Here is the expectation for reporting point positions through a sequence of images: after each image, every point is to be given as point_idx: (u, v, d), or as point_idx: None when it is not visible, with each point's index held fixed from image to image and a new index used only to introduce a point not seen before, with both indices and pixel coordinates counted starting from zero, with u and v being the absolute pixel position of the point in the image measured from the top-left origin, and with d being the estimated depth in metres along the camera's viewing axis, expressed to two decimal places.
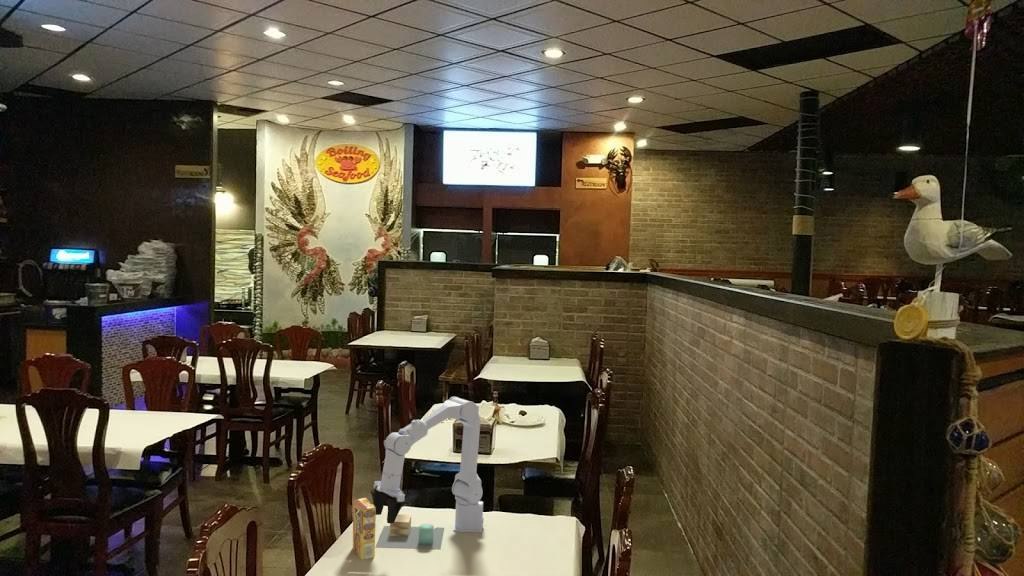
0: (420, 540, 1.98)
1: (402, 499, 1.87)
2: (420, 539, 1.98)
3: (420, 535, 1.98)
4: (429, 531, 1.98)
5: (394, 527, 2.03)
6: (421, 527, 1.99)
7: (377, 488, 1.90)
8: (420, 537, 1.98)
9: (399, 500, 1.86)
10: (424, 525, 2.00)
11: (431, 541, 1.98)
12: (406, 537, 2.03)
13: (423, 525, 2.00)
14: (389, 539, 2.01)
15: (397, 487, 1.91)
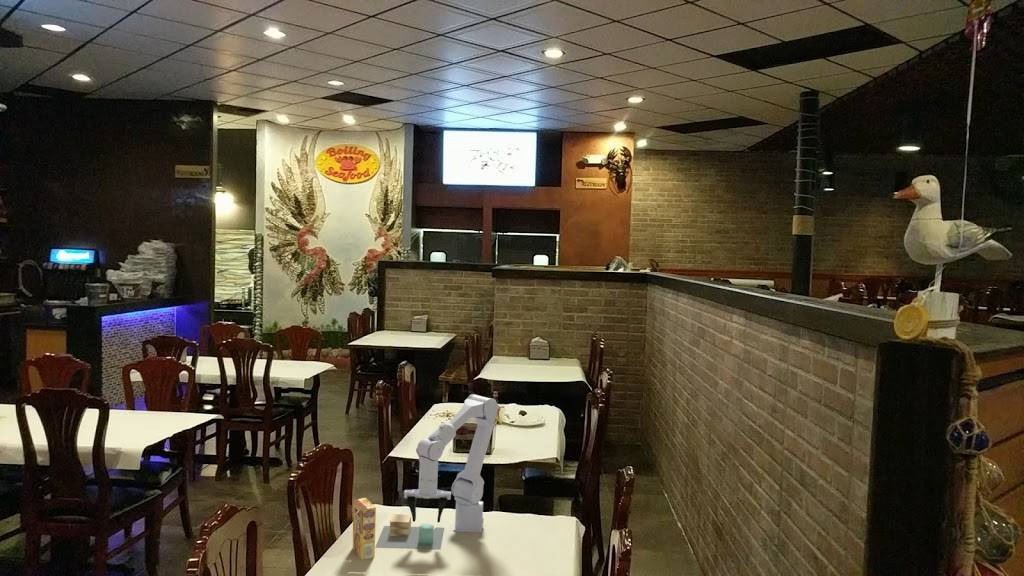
0: (420, 540, 1.98)
1: None
2: (420, 539, 1.98)
3: (420, 535, 1.98)
4: (429, 531, 1.98)
5: (394, 527, 2.03)
6: (421, 527, 1.99)
7: (425, 496, 1.95)
8: (420, 537, 1.98)
9: None
10: (424, 525, 2.00)
11: (431, 541, 1.98)
12: (406, 537, 2.03)
13: (423, 525, 2.00)
14: (389, 539, 2.01)
15: None
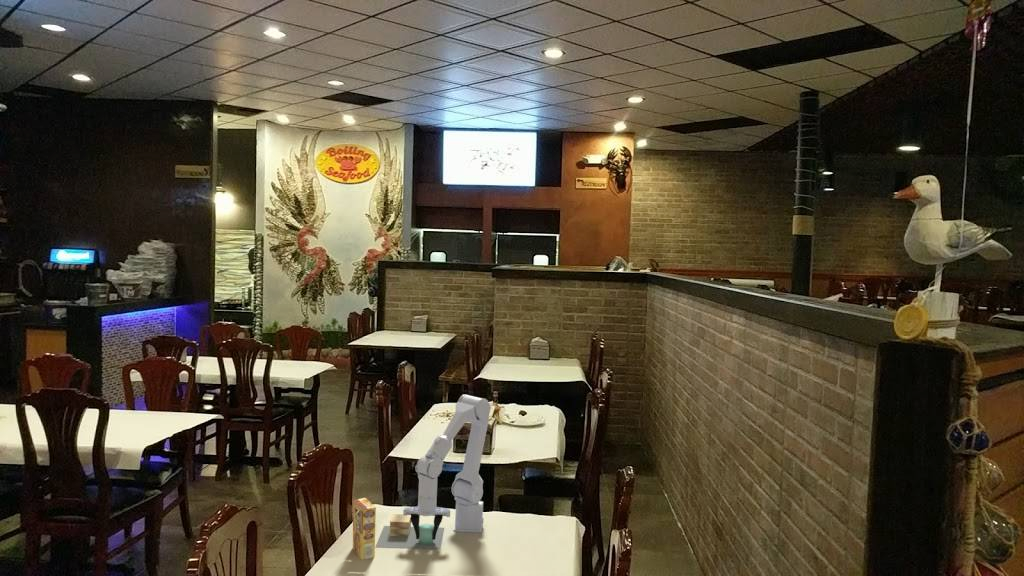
0: (420, 540, 1.98)
1: None
2: (420, 539, 1.98)
3: (420, 535, 1.98)
4: (429, 531, 1.98)
5: (394, 527, 2.03)
6: (421, 527, 1.99)
7: (424, 514, 1.95)
8: (420, 537, 1.98)
9: (449, 515, 1.99)
10: (424, 525, 2.00)
11: (431, 541, 1.98)
12: (406, 537, 2.03)
13: (423, 525, 2.00)
14: (389, 539, 2.01)
15: None
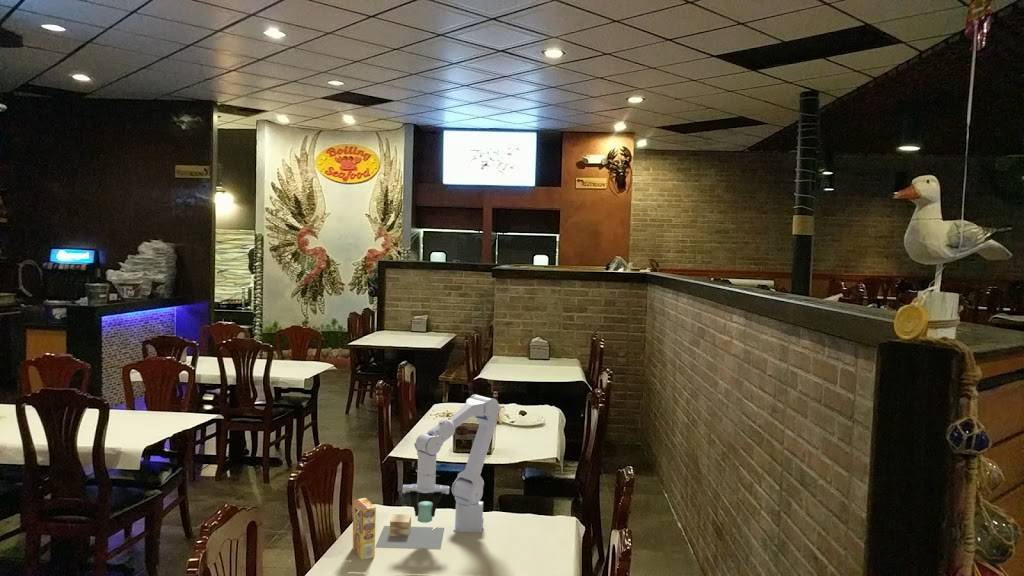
0: (419, 517, 1.98)
1: None
2: (419, 516, 1.98)
3: (419, 512, 1.98)
4: (428, 508, 1.98)
5: (394, 527, 2.03)
6: (420, 504, 1.99)
7: (423, 491, 1.95)
8: (419, 514, 1.98)
9: (448, 492, 1.99)
10: (423, 502, 2.01)
11: (430, 518, 1.99)
12: (406, 537, 2.03)
13: (422, 502, 2.00)
14: (389, 539, 2.01)
15: None
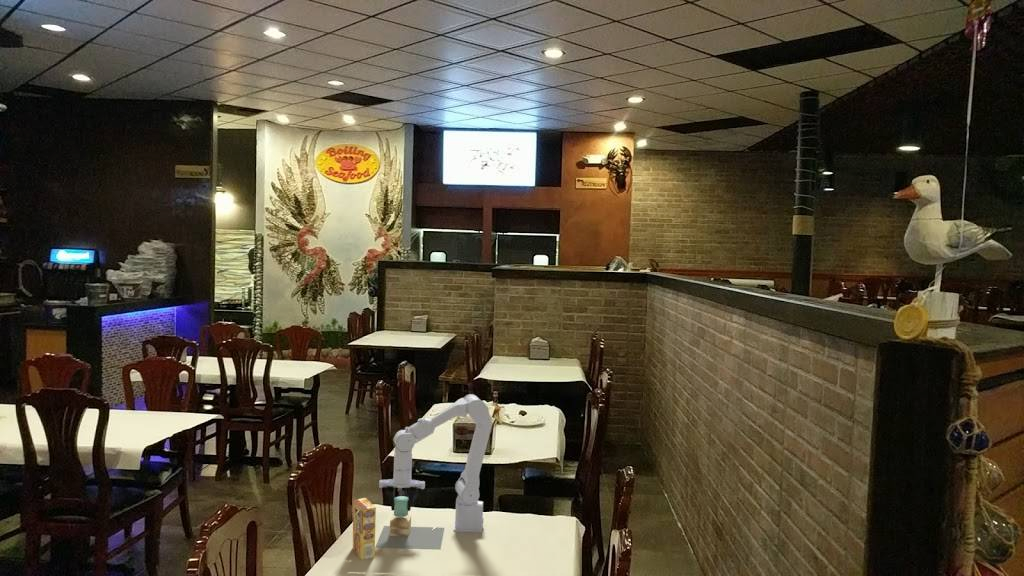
0: (395, 511, 2.04)
1: (424, 486, 2.06)
2: (395, 510, 2.04)
3: (395, 507, 2.04)
4: (404, 503, 2.04)
5: (394, 527, 2.03)
6: (396, 499, 2.05)
7: (399, 486, 2.02)
8: (395, 509, 2.04)
9: (424, 487, 2.05)
10: (399, 497, 2.07)
11: (406, 512, 2.05)
12: (406, 537, 2.03)
13: (398, 497, 2.07)
14: (389, 539, 2.01)
15: None
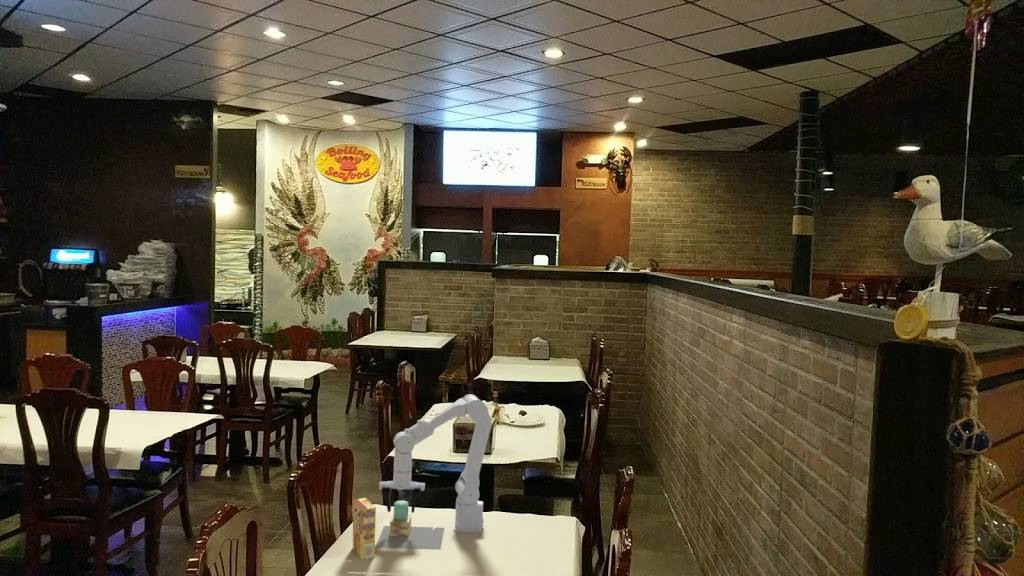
0: (395, 516, 2.04)
1: (424, 487, 2.06)
2: (395, 515, 2.04)
3: (395, 511, 2.04)
4: (404, 507, 2.04)
5: (394, 527, 2.03)
6: (396, 503, 2.05)
7: (399, 487, 2.02)
8: (395, 513, 2.04)
9: None
10: (399, 502, 2.07)
11: (406, 517, 2.05)
12: (406, 537, 2.03)
13: (398, 502, 2.07)
14: (389, 539, 2.01)
15: None
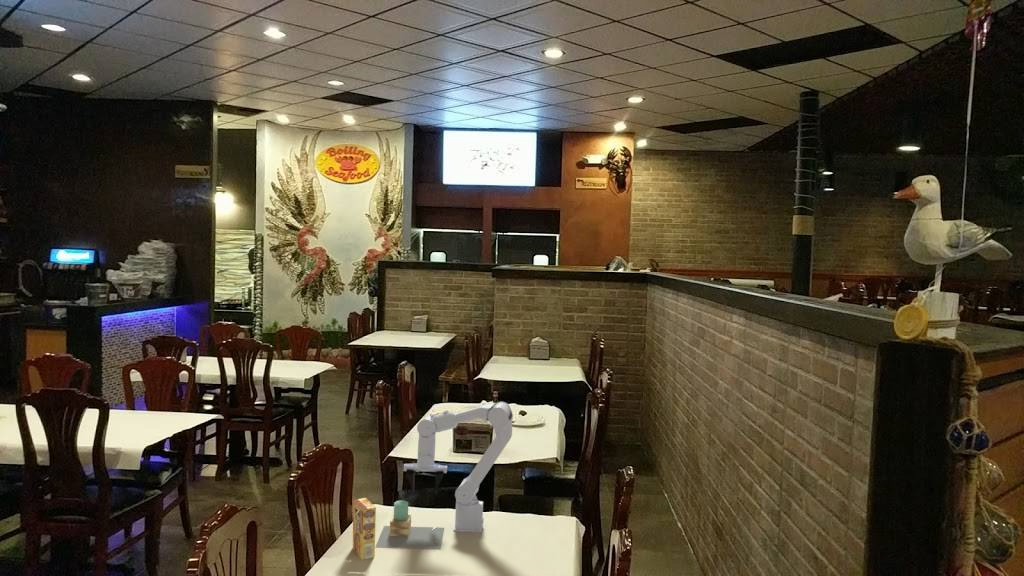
0: (395, 516, 2.04)
1: None
2: (395, 515, 2.04)
3: (395, 511, 2.04)
4: (404, 507, 2.04)
5: (394, 527, 2.03)
6: (396, 503, 2.05)
7: (423, 469, 2.11)
8: (395, 513, 2.04)
9: (446, 471, 2.14)
10: (399, 502, 2.07)
11: (406, 517, 2.05)
12: (406, 537, 2.03)
13: (398, 502, 2.07)
14: (389, 539, 2.01)
15: None
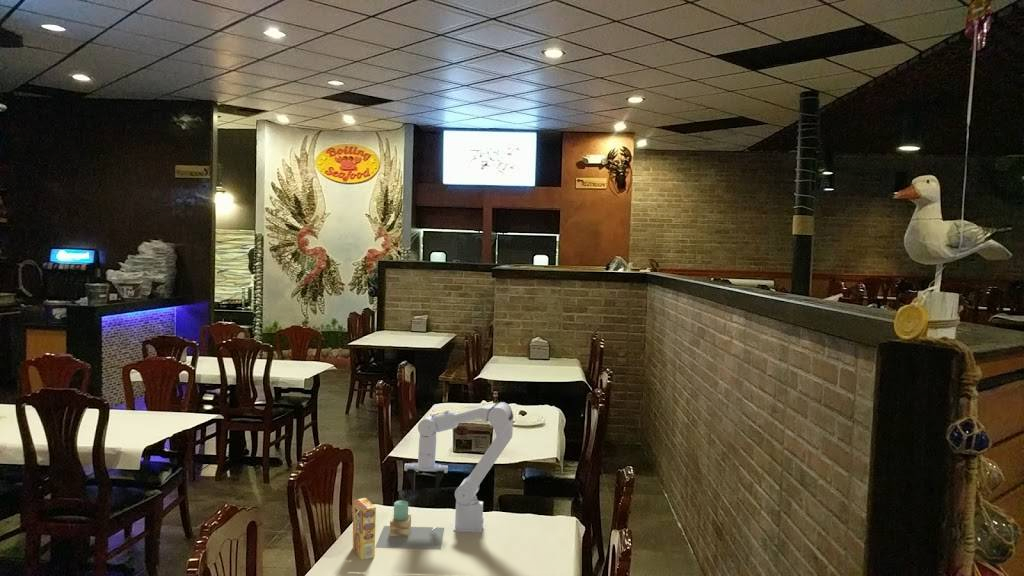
0: (395, 516, 2.04)
1: (447, 469, 2.15)
2: (395, 515, 2.04)
3: (395, 511, 2.04)
4: (404, 507, 2.04)
5: (394, 527, 2.03)
6: (396, 503, 2.05)
7: (424, 469, 2.11)
8: (395, 513, 2.04)
9: None
10: (399, 502, 2.07)
11: (406, 517, 2.05)
12: (406, 537, 2.03)
13: (398, 502, 2.07)
14: (389, 539, 2.01)
15: None
